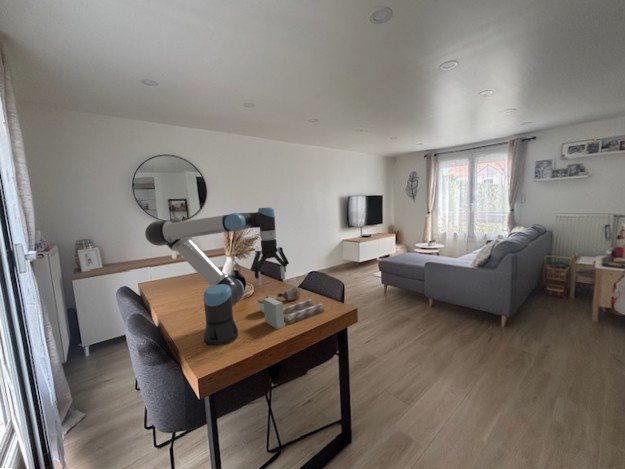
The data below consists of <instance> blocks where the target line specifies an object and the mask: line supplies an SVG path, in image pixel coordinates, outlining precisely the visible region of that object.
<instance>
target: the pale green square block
mask: <svg viewBox="0 0 625 469" xmlns="http://www.w3.org/2000/svg"><path fill="white" fill-rule="evenodd" d="M263 301H264V313H263V314H264V322H265V324H268V325H270V326H272V327H273V328H274V329H276V330H279V329H282V328H284V327H285V320H284V316H283V308H284V307H283V306H284V304H283V302H282V301H280V300H278V299H277V300H275V299H273V298H271V297H269V298H266V299H263Z"/></svg>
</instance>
